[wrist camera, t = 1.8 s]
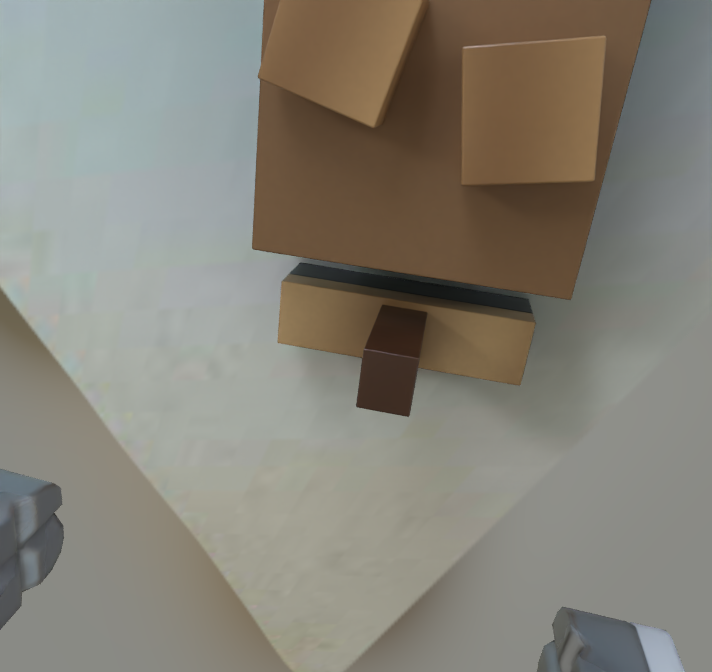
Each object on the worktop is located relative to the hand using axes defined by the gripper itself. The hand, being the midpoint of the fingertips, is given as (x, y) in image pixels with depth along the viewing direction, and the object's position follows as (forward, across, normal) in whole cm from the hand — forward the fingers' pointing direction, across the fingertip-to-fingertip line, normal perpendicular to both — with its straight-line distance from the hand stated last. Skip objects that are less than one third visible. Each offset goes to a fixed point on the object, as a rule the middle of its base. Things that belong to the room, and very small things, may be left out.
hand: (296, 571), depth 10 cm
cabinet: (+20, 0, -8) cm, 22 cm away
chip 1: (+14, +3, -8) cm, 17 cm away
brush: (+20, 0, +2) cm, 20 cm away
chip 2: (+14, -3, -7) cm, 16 cm away
